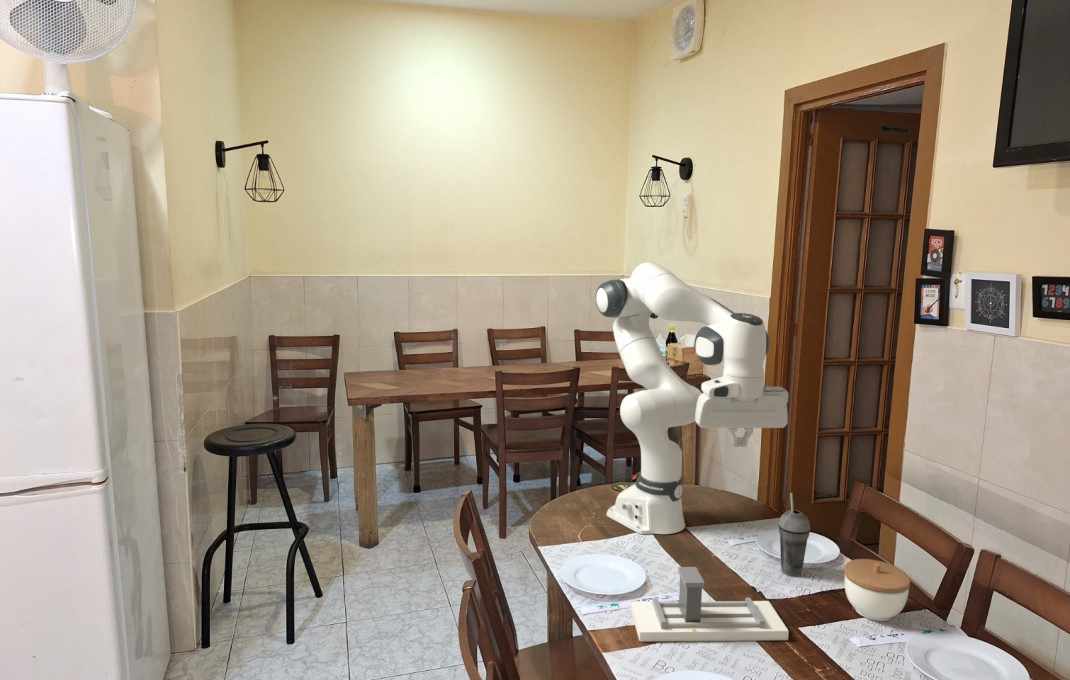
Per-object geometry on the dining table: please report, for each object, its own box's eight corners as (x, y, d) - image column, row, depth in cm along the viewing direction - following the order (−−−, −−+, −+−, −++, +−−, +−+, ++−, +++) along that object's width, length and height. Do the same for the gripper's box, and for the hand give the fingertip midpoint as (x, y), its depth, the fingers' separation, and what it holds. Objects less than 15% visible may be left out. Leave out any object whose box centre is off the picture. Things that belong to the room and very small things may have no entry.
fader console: (639, 641, 133) (640, 625, 133) (630, 610, 144) (631, 595, 144) (788, 640, 134) (789, 624, 134) (768, 609, 145) (768, 594, 144)
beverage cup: (810, 581, 157) (816, 500, 153) (777, 578, 158) (782, 498, 155) (804, 566, 164) (809, 489, 160) (773, 563, 165) (778, 486, 162)
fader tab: (684, 623, 136) (685, 582, 134) (676, 606, 142) (678, 567, 140) (702, 623, 136) (704, 582, 134) (694, 606, 142) (696, 566, 140)
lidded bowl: (880, 635, 136) (885, 585, 134) (828, 604, 147) (832, 558, 145) (919, 619, 142) (924, 570, 140) (866, 590, 153) (870, 545, 151)
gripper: (783, 383, 152) (779, 441, 155) (694, 383, 152) (692, 441, 154) (794, 389, 146) (790, 450, 148) (702, 389, 146) (699, 450, 148)
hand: (739, 445), depth 151 cm, fingers closed
